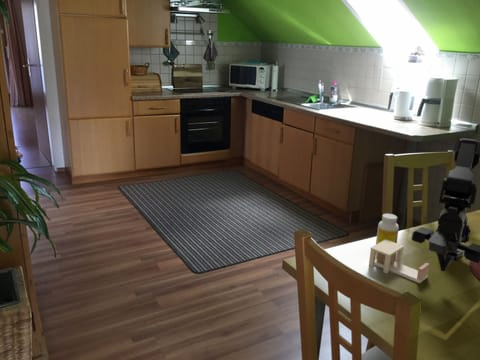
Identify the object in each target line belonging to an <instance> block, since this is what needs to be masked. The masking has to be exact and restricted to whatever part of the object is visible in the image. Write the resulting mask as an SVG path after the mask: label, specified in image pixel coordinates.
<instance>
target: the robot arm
mask: <svg viewBox="0 0 480 360" xmlns="http://www.w3.org/2000/svg"><path fill="white" fill-rule="evenodd" d="M452 153H453V154H454V159H453V161H454V163H455V165H454V168H452V169H451V170H449V171H448V173H447V176H446V178H445V177H444V178H443V182H442V186H441V191H440V196H439V199H438V203H439V204H443V207H442V210H441V212H440V215H439V217H438V220H437V229H436V230H435V231H434V230H432V229H430V228H427V227H424V226H422V227H419V228H417V229H416V230H414V231H413V232H412V235H411V241H413V242H416V243H418V244H423V243H425V241H426V240H427V241H428V249H429V251H430V252H433V253H435V254H436V256H437V258H438V264H439V266H440V267H439V268H440V271H441V272H446V271H447V270H448V267H449V266H450V265H451V263H452V262H453V261H457V260H459V259H460V258H461V257H462V256H464V258H465V259H466V260H468V261H470V262H474V263H480V244H476V243H473V242H472V243H470V244H469V245H466V243H469V241H470V237H471V236H470V235H471V229H470V225H468V220H469V219H468V215H467V208H468V209H471V207H472V205H474V204H475V201H476V200H475V199H476V196H477V191H478V187H477V184H476V182H474V177H475V174H474V173H472V171H473V169H475V168H476V166H477V165H478V164H479V162H480V141H479V140H477V139H473V138H465V137H464V138H459V139H456V140H454V142H453V147H452Z"/></svg>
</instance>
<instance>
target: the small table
mask: <svg viewBox="0 0 480 360" xmlns="http://www.w3.org/2000/svg"><path fill="white" fill-rule="evenodd" d="M404 248H405V245H402V244H400V243H398V242H397V243H394V242H392V241H389V240H386V239H385V240H383V241H382V242H380V243H378V244H376V243H375V245H373V246H371V247H370V254H369V262H368V267H369V268H370V267H371V268H374V267H375V265H374V264H375V259H376V257H377V256H376V254H377V253H378V252H379V253H381V254H384V255H385V263H384V268H383V271H382V272H383V273H385V274H388V273H390V271H389V267H390V260H391V255H393V254H395V253H396V258H395V260H396V261H395V262H397V263H400V264H402V262H403V254H404Z"/></svg>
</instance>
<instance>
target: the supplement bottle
mask: <svg viewBox="0 0 480 360" xmlns="http://www.w3.org/2000/svg"><path fill="white" fill-rule="evenodd" d="M381 219H382V220H380V221H379V223H378V224H377V225H378V226H377V232H376V240H375V241H376V242H375V245H376V244H378V243H380V242H382V241H383V240H385V239H386V240H389V241H392V242H394V243H397V244H398V236H399V230H400V229H399V228H400V227H399V224H398V223H397V220H398V216H397V215H396V214H393V213H383V214H382V218H381Z"/></svg>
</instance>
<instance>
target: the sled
mask: <svg viewBox="0 0 480 360" xmlns="http://www.w3.org/2000/svg"><path fill="white" fill-rule="evenodd" d="M376 254H377V256H376V258H375V264H374V266H377V267H379V268H381V269H384V263H385V255H384V254H381V253H379V252H377V253H376ZM396 256H397V252H396V253H395V254H393V255H391V260H390V267H389V272H391V273H393V274H396V275H399V276H401V277H404V278H406V279H408V280H410V281H412V282H413V281H414V282H415V283H418V284H421V283H423V281H425V280H426V279H427V278H428V276H429V268H430V263H428V262H425V263H424V264H422V265H421V266H419V267H418V269H416V268H413V267H409V266H406V265H404V264H402V263H401V264H400V263H397V262H396V261H395V260H396Z"/></svg>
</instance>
